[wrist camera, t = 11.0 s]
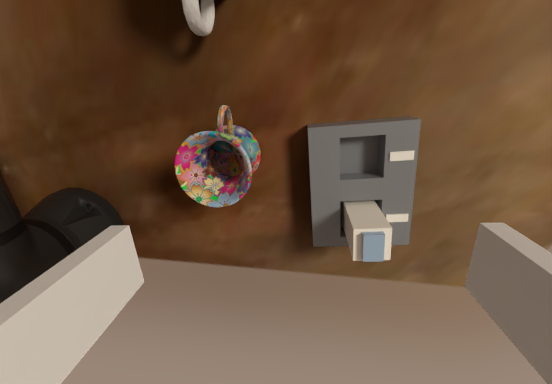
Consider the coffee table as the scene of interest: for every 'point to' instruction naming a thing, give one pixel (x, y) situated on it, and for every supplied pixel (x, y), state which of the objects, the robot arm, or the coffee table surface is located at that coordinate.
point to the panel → (362, 173)
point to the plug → (366, 231)
